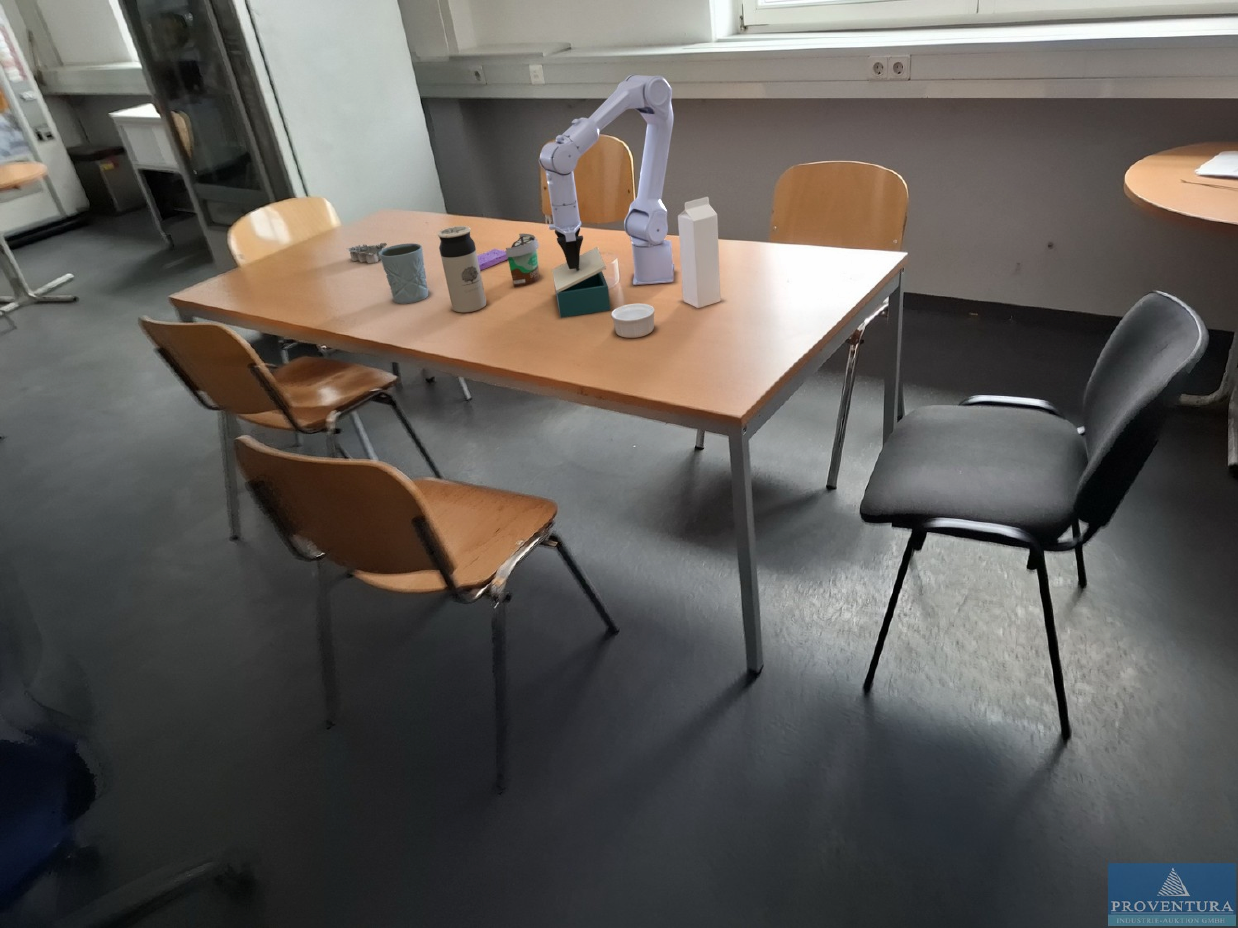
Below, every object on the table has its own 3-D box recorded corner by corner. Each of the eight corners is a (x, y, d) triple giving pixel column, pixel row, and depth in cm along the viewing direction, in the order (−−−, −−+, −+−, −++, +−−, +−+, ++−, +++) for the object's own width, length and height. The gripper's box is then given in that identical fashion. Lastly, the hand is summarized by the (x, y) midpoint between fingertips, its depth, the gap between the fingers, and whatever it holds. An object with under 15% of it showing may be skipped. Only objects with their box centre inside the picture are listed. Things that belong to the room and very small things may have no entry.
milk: (720, 301, 178) (717, 199, 167) (697, 309, 176) (693, 205, 164) (704, 294, 183) (700, 194, 171) (682, 301, 181) (676, 200, 169)
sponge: (512, 258, 220) (511, 251, 219) (475, 273, 213) (474, 266, 212) (496, 254, 225) (494, 248, 224) (459, 268, 218) (457, 261, 217)
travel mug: (449, 306, 194) (432, 230, 184) (481, 298, 196) (466, 223, 187) (457, 316, 187) (440, 238, 178) (490, 308, 190) (475, 230, 180)
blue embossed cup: (383, 304, 200) (370, 256, 194) (405, 289, 208) (394, 242, 202) (418, 305, 196) (406, 256, 190) (440, 290, 204) (429, 242, 198)
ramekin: (623, 343, 164) (621, 323, 162) (606, 329, 172) (604, 310, 169) (663, 332, 167) (661, 312, 165) (644, 319, 174) (643, 299, 172)
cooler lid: (598, 249, 188) (591, 234, 186) (606, 269, 176) (598, 253, 174) (553, 272, 189) (545, 257, 187) (557, 293, 177) (549, 277, 175)
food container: (536, 288, 198) (529, 247, 193) (512, 289, 199) (505, 248, 194) (549, 271, 208) (543, 231, 203) (526, 271, 210) (519, 233, 204)
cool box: (602, 288, 193) (600, 265, 190) (610, 310, 181) (607, 286, 178) (556, 295, 192) (552, 272, 189) (560, 317, 180) (557, 293, 177)
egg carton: (391, 257, 234) (388, 242, 232) (370, 265, 229) (366, 251, 227) (369, 252, 240) (365, 238, 238) (347, 260, 235) (343, 246, 233)
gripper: (543, 197, 180) (552, 257, 188) (547, 214, 168) (557, 277, 175) (575, 192, 181) (583, 252, 188) (581, 209, 169) (590, 272, 176)
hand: (572, 264), depth 182 cm, fingers closed on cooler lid, 4 cm apart
